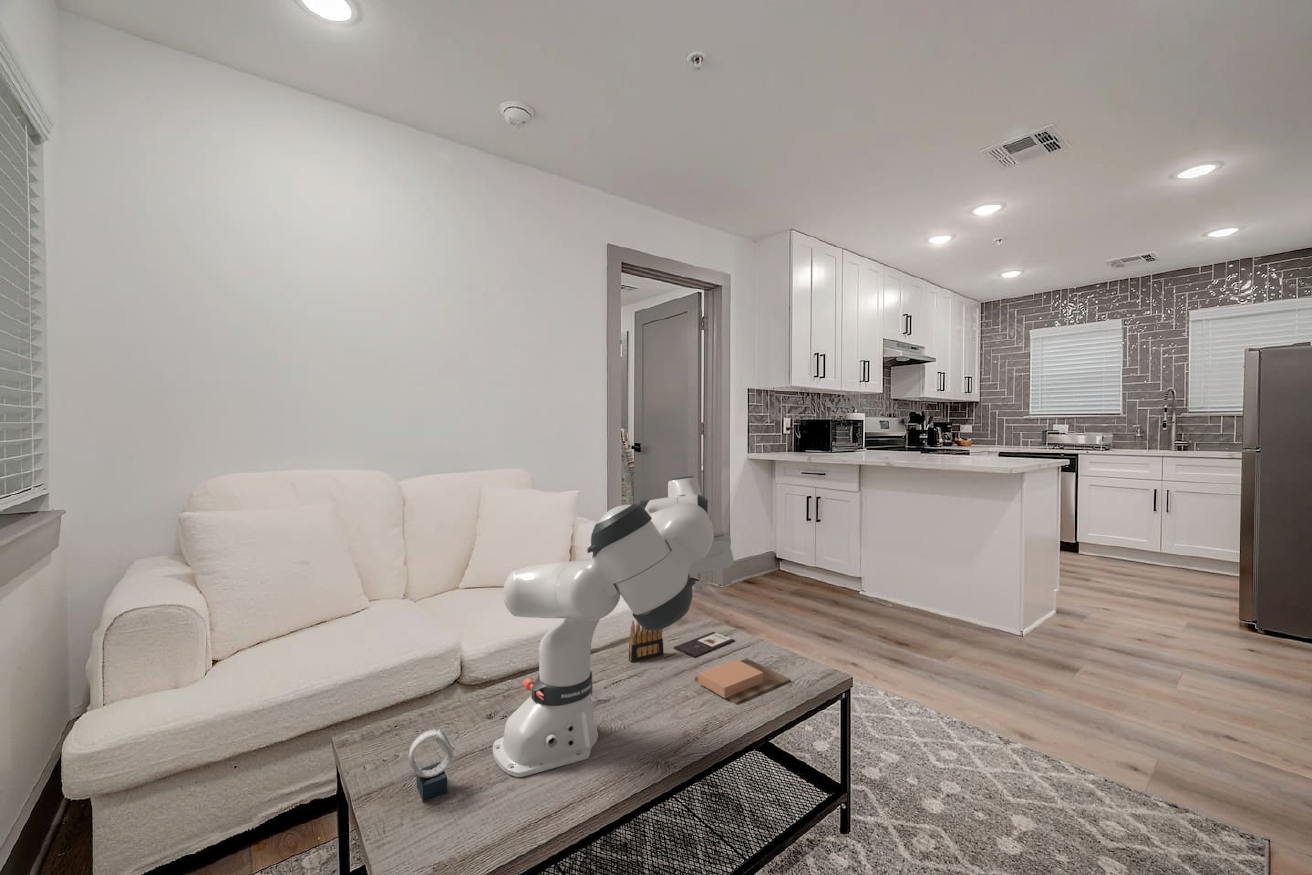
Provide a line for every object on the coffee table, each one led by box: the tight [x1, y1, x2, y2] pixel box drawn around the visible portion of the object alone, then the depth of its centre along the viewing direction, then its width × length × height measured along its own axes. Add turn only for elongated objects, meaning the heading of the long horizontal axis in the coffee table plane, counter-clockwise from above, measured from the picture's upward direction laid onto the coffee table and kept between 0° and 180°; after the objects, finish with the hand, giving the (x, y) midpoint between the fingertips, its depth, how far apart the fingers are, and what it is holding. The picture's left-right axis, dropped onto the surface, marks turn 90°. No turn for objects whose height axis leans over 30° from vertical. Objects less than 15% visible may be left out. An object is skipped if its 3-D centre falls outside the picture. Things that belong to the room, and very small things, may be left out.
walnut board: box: [694, 658, 791, 705], centre depth 147 cm, size 20×16×1 cm
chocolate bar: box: [673, 631, 736, 659], centre depth 171 cm, size 9×1×18 cm
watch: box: [408, 728, 455, 803], centre depth 104 cm, size 6×8×11 cm
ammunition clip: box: [628, 620, 664, 664], centre depth 161 cm, size 11×2×12 cm, turn 118°
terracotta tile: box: [697, 658, 763, 699], centre depth 145 cm, size 3×10×14 cm
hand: (698, 589), depth 143 cm, fingers closed
